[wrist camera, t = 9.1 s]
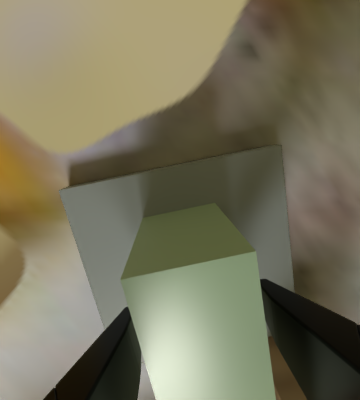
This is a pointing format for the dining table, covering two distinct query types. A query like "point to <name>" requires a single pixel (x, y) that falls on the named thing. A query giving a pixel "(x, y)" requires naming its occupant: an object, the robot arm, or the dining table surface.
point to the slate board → (178, 200)
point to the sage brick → (198, 307)
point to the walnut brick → (283, 376)
